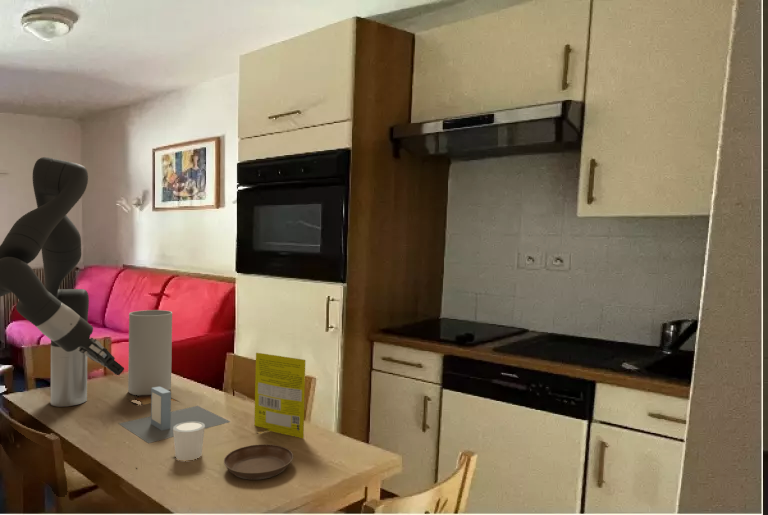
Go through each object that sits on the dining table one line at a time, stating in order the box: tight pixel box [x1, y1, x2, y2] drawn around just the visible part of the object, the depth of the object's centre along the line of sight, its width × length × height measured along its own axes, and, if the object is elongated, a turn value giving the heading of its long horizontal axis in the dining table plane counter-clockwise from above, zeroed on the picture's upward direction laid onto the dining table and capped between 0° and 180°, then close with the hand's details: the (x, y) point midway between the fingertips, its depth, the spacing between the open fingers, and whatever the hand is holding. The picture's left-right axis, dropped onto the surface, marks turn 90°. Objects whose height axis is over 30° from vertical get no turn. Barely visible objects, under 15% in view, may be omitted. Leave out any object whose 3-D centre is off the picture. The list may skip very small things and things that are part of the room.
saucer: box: [223, 443, 294, 481], centre depth 117 cm, size 15×15×3 cm
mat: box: [118, 405, 231, 444], centre depth 141 cm, size 18×22×1 cm
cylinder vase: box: [127, 309, 173, 397], centre depth 170 cm, size 12×12×25 cm
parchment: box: [135, 395, 180, 407], centre depth 156 cm, size 25×10×1 cm, turn 47°
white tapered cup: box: [173, 421, 206, 461], centre depth 122 cm, size 7×7×7 cm
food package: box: [253, 352, 306, 439], centre depth 137 cm, size 15×1×20 cm, turn 65°
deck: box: [150, 386, 172, 430], centre depth 138 cm, size 6×2×10 cm, turn 47°
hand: (120, 371), depth 130 cm, fingers closed
